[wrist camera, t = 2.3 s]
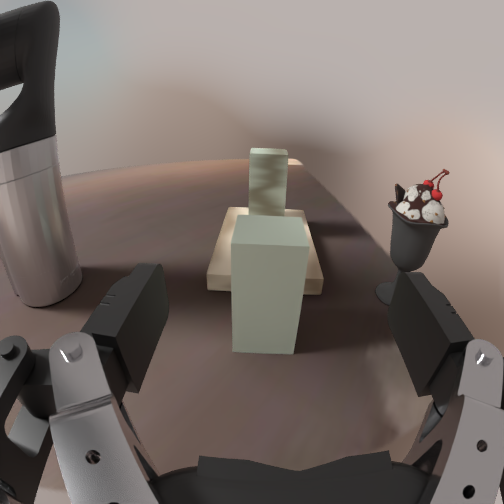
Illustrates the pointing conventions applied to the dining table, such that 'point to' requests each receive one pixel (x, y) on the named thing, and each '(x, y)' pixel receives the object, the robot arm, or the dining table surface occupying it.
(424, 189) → the sundae
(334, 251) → the dining table surface
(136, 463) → the robot arm
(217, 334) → the dining table surface
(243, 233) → the green block
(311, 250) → the board
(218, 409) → the dining table surface
